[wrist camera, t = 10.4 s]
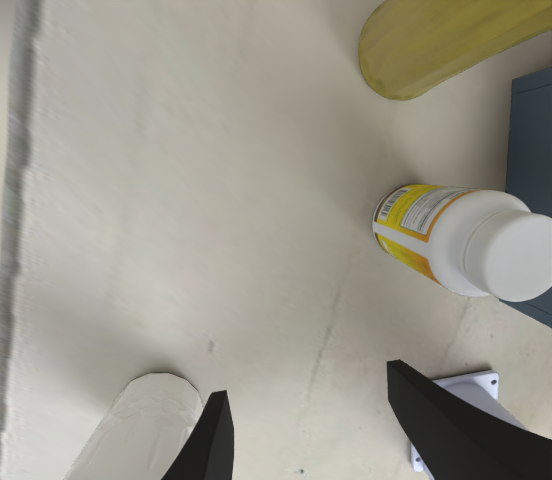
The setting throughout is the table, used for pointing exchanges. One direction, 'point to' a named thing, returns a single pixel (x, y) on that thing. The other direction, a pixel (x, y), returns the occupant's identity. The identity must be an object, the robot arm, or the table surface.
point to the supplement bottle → (468, 239)
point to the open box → (532, 164)
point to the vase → (441, 39)
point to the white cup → (140, 431)
